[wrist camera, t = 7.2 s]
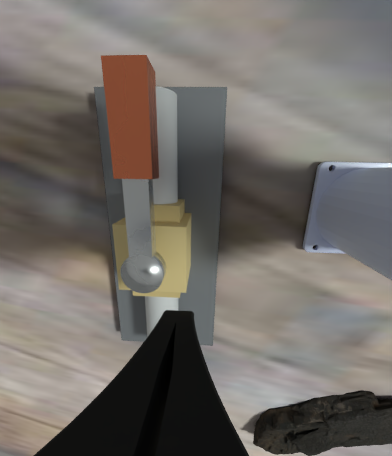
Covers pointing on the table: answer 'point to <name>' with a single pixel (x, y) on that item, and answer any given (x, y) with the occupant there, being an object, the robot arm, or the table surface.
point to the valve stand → (174, 209)
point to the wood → (326, 424)
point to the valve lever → (135, 162)
